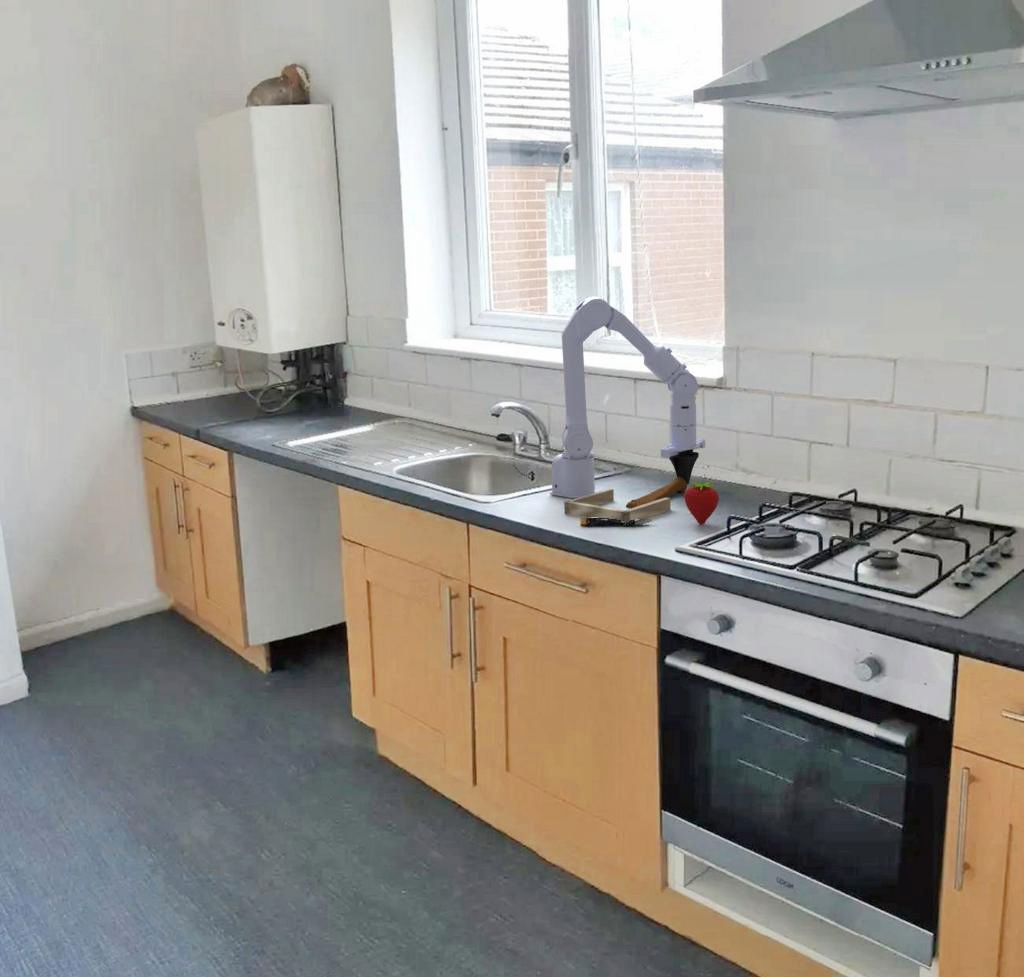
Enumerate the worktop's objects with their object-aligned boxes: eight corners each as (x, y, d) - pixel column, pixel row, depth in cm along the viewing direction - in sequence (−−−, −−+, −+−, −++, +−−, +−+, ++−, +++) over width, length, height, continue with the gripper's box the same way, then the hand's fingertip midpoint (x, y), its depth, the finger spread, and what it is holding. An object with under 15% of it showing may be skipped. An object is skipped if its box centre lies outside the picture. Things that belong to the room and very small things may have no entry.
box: (564, 513, 230) (564, 501, 229) (609, 499, 240) (609, 488, 240) (626, 524, 219) (626, 512, 218) (670, 509, 229) (670, 498, 229)
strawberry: (697, 517, 222) (697, 469, 219) (725, 524, 216) (726, 475, 214) (677, 523, 218) (676, 474, 216) (705, 530, 212) (705, 479, 210)
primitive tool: (646, 510, 230) (645, 494, 229) (623, 507, 233) (623, 491, 232) (689, 492, 245) (688, 477, 244) (667, 490, 248) (667, 475, 247)
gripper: (679, 431, 235) (679, 492, 238) (716, 421, 245) (716, 480, 248) (652, 428, 240) (653, 488, 243) (690, 418, 250) (690, 476, 253)
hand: (683, 484), depth 246 cm, fingers closed
